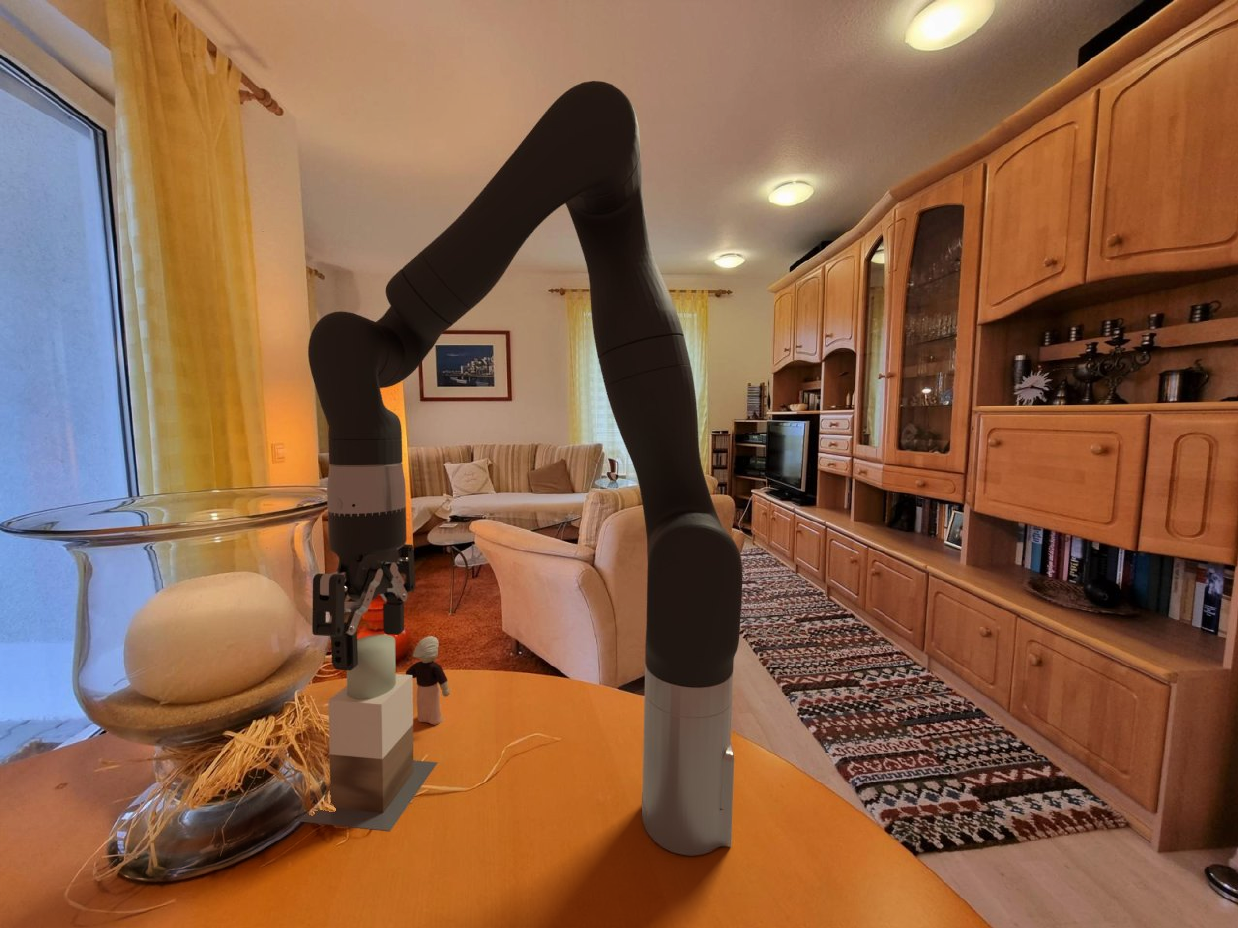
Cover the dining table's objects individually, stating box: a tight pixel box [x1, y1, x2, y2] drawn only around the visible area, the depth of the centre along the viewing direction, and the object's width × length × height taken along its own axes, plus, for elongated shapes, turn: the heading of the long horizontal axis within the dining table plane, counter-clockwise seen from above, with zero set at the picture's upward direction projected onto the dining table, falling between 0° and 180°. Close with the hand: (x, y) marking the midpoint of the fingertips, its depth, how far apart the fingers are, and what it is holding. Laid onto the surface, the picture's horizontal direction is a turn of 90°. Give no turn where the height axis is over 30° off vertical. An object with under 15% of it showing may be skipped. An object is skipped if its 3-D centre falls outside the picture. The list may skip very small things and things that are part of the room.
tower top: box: [327, 673, 414, 759], centre depth 53 cm, size 6×6×6 cm
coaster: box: [298, 759, 438, 832], centre depth 53 cm, size 10×10×1 cm
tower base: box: [329, 724, 414, 813], centre depth 53 cm, size 6×6×6 cm
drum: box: [346, 634, 397, 699], centre depth 52 cm, size 5×5×5 cm
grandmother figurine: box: [405, 635, 451, 726], centre depth 66 cm, size 8×4×13 cm, turn 82°
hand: (371, 649), depth 52 cm, fingers open, 8 cm apart
